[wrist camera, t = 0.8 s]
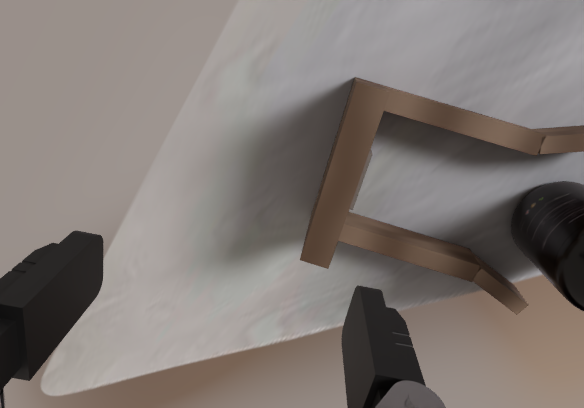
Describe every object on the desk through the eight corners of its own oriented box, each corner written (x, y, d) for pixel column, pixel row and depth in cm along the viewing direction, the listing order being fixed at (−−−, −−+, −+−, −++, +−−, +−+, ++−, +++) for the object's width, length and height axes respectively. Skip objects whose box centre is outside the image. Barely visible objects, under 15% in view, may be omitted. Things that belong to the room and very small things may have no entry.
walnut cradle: (602, 126, 29) (688, 148, 22) (508, 295, 35) (551, 360, 27) (361, 55, 30) (365, 53, 23) (305, 233, 35) (293, 279, 28)
